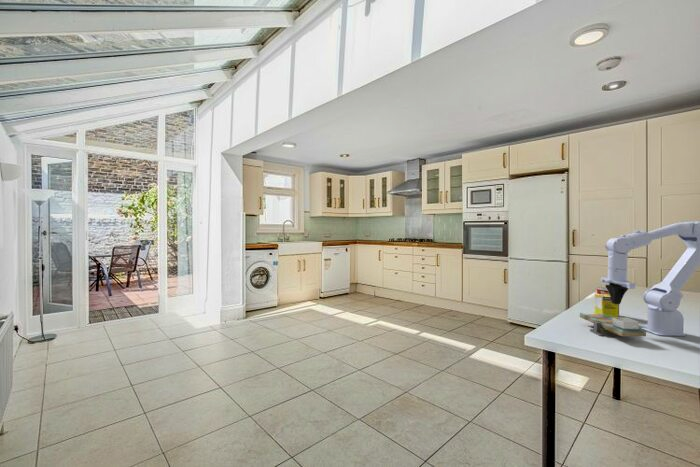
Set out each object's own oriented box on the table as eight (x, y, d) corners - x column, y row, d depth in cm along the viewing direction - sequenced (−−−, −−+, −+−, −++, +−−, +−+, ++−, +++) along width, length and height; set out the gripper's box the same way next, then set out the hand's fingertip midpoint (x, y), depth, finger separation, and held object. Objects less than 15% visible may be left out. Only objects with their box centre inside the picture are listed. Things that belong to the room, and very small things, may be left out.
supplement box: (618, 323, 132) (618, 297, 132) (602, 322, 133) (602, 296, 133) (610, 319, 138) (610, 294, 138) (594, 318, 139) (594, 293, 139)
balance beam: (579, 317, 131) (579, 312, 131) (600, 317, 131) (600, 312, 131) (621, 336, 109) (621, 331, 109) (646, 336, 109) (646, 331, 109)
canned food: (603, 317, 141) (603, 290, 141) (593, 312, 149) (593, 287, 148) (623, 317, 139) (623, 290, 139) (611, 313, 147) (611, 287, 147)
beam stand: (590, 331, 122) (590, 320, 122) (623, 331, 121) (623, 320, 121) (599, 335, 117) (599, 324, 117) (634, 336, 116) (634, 324, 116)
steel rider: (626, 326, 115) (627, 317, 115) (638, 331, 110) (638, 321, 110) (612, 326, 116) (612, 317, 115) (623, 331, 111) (623, 321, 110)
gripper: (593, 266, 130) (592, 299, 130) (621, 271, 115) (619, 308, 116) (611, 266, 129) (610, 299, 130) (641, 271, 115) (640, 308, 115)
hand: (616, 303), depth 123 cm, fingers closed
